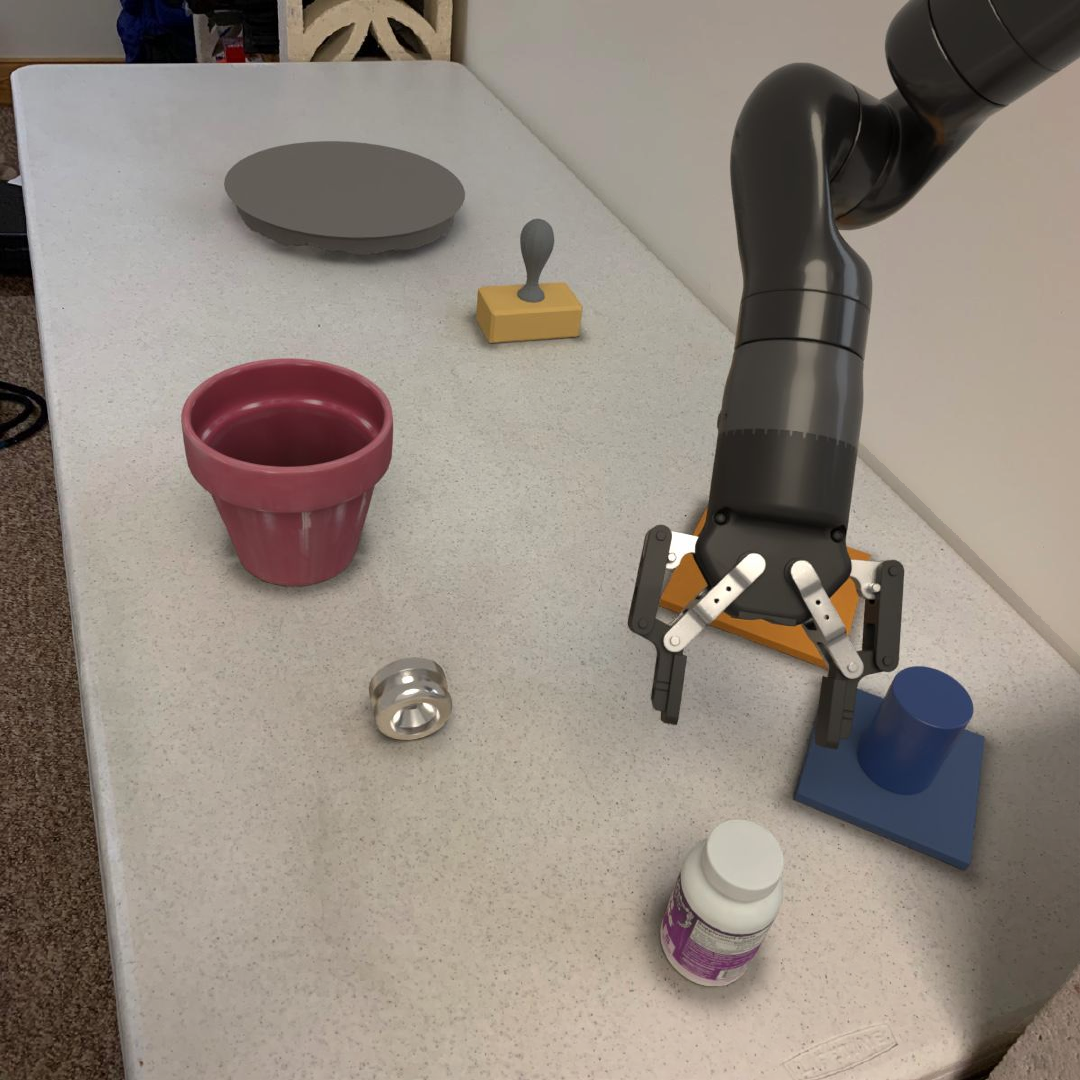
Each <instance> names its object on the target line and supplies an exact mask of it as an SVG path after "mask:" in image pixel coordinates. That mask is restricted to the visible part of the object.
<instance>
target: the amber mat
mask: <svg viewBox="0 0 1080 1080" xmlns="http://www.w3.org/2000/svg"><path fill="white" fill-rule="evenodd" d="M707 508H708V505H707V506H706V508H705V510H704V512H703V514H702V516H701V517H700V519H699V522H698V523H697V525H696V528H695V530H694V532H693V534H692V535H693V536H698V535H699V533H700V532H701V530H702V529H703V527H704V524H705V521H706V515H707ZM846 547H847V551H848V554H849V556H850V559H853V560H864V561H871V556H872V555H871V554H870V553H867V552H864V551H861V550H859V549H856V548H853V547H850V546H848V545H846ZM706 585H707V583H706V581H705V579H704V577H703V575H702V574H701V572H700V570H699V568H698V566H697V564H696V562H695V560H694V558H693V555H692V554H690V553H689V554H686V555H684V556H683V557H682V559H681V562H680V564H679V565H678V566H677V567H676V568H674V571H673V573H672V575H671V577H670V579H669V580H668V582H667V584H666V586H665V588H664V591H663V593H661V594H662V595H660V600H659V605H658V607H661V608H664V609H667V610H669V611H672V612H675V613H678V614H679V613H680V612H681V611H682V610H683V609H684V607H685V606H686V605H687V604H688V603H689V602H690V601H691V600H692V599H693V598H694V597H695V596H696V595H697V594H698V593H699V592H700V591H701V590H702V589H703V588H704V587H705V586H706ZM859 600H860V597H859V596H858V594H857V592H856V587H855V583H854V582H853V580H852V579H850V578H848V580H847V581H846V582H845V583H844V584H843V585H842V586H841V587H840V588H839V589H838V590H837V591H836V592H835V593H834V595H833V596H832V597H831V598H830V601H831V603H832V604H833V606H834V608H835V610H836V612H837V613H838V615H839V617H840V619H841V620H842V622H843V624H844V626H845V628H846V631H847V636H848V637H849V635H850V632H851V629H852V625H853V621H854V617H855V614H856V610H857V607H858V603H859ZM825 618H826V616H825ZM810 619H811V618H810ZM708 626H712V627H714V628H717V629H720V630H723V631H725V632H728V633H730V634H733V635H734V636H735V635H736V636H738V637H741V638H744V639H746V640H749V641H752V642H754V643H756V644H760V645H762V646H765V647H768V648H770V649H773V650H775V651H777V652H780V653H783V654H787V655H789V656H791V657H794V658H797V659H800V660H801V661H804V662H807V663H810V664H812V665H815V666H818V667H820V668H823V669H825V670H828V671H829V669H828V667H827V665H826V664H825V662H824V660H823V658H822V657H821V655H820V653H819V651H818V650H817V648H816V646H815V644H814V643H813V642H812V641H811V640H810V639H809V637H808V636H807V634H806V632H805V631H804V629H803V627H802V625H801V624H800V625H796V627H795V626H784V625H777V624H772V623H770V622H767V621H765V620H763V619H757V620H744V619H737V618H731V616H729V615H728V614H726V613H725V612H724V611H723V612H722V613H720V614H719V615H718V616H717V617H716V618H715V619H714V620H713V621H712V622H711V623H710V624H709V625H708Z"/></svg>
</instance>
